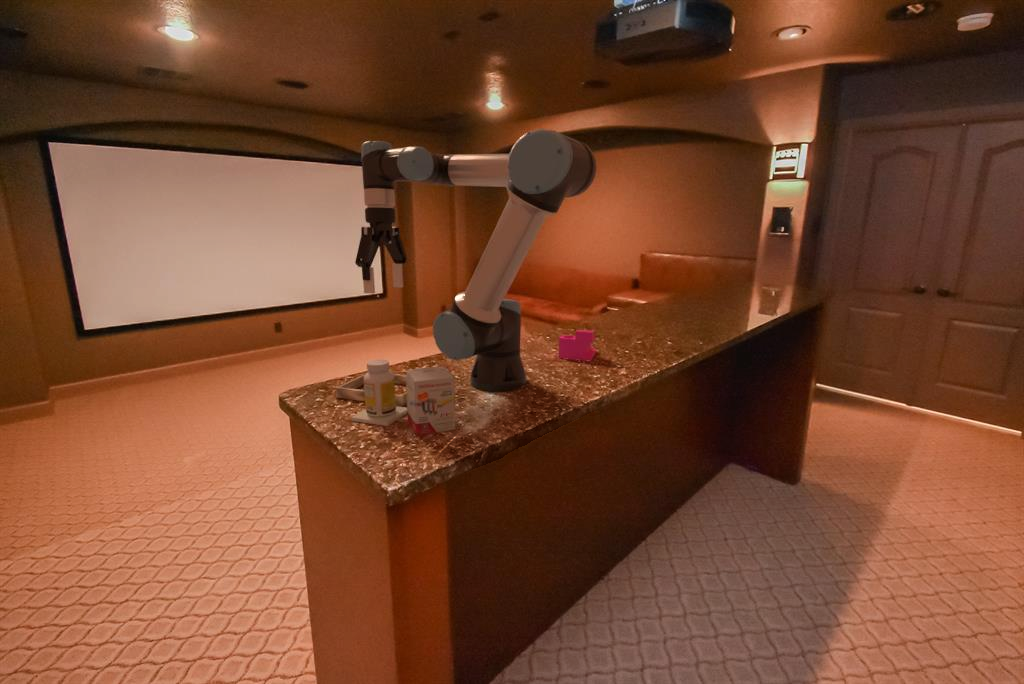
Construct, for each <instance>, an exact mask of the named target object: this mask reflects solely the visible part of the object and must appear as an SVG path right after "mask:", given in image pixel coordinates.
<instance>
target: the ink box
mask: <svg viewBox="0 0 1024 684" xmlns="http://www.w3.org/2000/svg"><path fill="white" fill-rule="evenodd" d="M405 373H406V374H405V376H406V386H405V387H406V391H407V403H406V408H407V413H406V414H407V417H406V418H407V424H409V426H410V428H411V430H412V431H413V433H414V435H416V436H423V435H429V434H430V435H431V434H435V433H441V432H448V431H454V430H456V399H455V398H456V392H455V391H456V388H455V385H456V384H455V383H456V381H455V376H454V375H453V374H452V373H451V372H450V370H449V369H448V368H447V367H445V366H435V367H425V368H424V367H423V368H415V369H407V370H406V371H405Z"/></svg>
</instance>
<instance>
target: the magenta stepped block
mask: <svg viewBox="0 0 1024 684" xmlns="http://www.w3.org/2000/svg"><path fill="white" fill-rule="evenodd" d="M595 340H596V337H595V331H594V330H587V329H586V330H585V329H583V330H582V329H576V330H575V335H572V334H571V335H570V334H562V335H561V336H559V337H558V358H566V359H565V360H567V358H568V359H579V360H590V361H591V360H592V361H593V359H594V358H593V356H594V355H595V353H596V352H598V350H597V349H595V348H592V346H591V345H592V343H593V342H594V341H595ZM596 354H597V353H596ZM595 356H596V355H595ZM595 356H594V357H595ZM592 358H593V359H592ZM592 361H591V362H592Z"/></svg>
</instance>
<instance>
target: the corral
mask: <svg viewBox="0 0 1024 684" xmlns="http://www.w3.org/2000/svg"><path fill="white" fill-rule="evenodd" d="M367 373H368V372H366V373H364V374H361V375H359V376H357V377H356V378H353V379H351V380H349V381H346V382H345V383H342V384H341V385H338V386H336V387H335V388H334V391H335V398H339V399H345V400H354V401H360V402H365V391H364V389H359V387H361V386H364V376H365V375H366V374H367ZM393 375H394V382H395V384H399V385H404V386H405V385H406V374H405V375H404V374H395V373H393ZM395 399H396V406H398V407H404V406H405V405H407V390H406V391H404V392H403V393H401V394H397V393H395Z"/></svg>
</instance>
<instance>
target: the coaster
mask: <svg viewBox="0 0 1024 684" xmlns="http://www.w3.org/2000/svg"><path fill="white" fill-rule="evenodd" d="M406 414H407V406H406V407H405V406H396V410H395V412H394V413H393V414H391V415H388V416H383V417H373V416H370V415H368V414H367V413H366V408H365V409H363V410H362V411H360V412H358V413H357V414H354V415H353V416H351V417H350V418H351V419H350V420H351V421H352V422H356V423H357V422H358V423H363V424H364V423H365V424H370V425H377V426H384V427H388V426H391V425H392V424H394V423H395V422H396V421H398V420H399V419H400V418H402V417H404V416H405V415H406Z"/></svg>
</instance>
